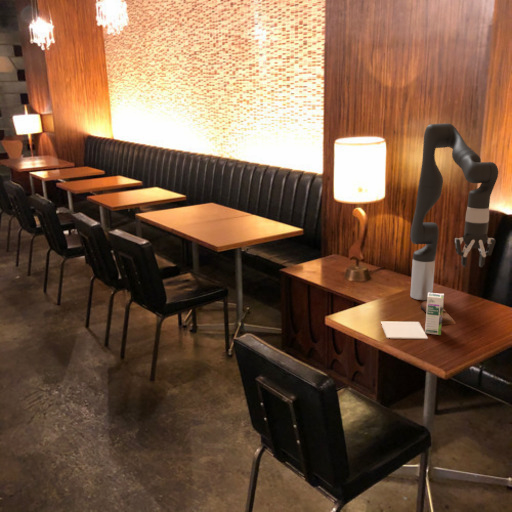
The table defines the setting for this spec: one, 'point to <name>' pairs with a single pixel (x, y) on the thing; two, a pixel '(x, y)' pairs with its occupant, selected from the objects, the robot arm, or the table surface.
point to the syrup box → (434, 313)
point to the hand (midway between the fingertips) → (472, 266)
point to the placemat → (403, 330)
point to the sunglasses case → (445, 316)
